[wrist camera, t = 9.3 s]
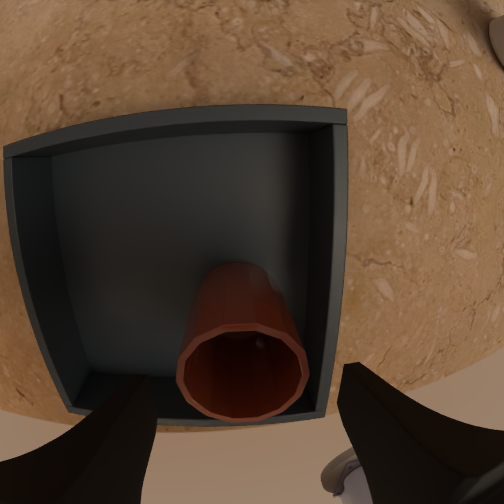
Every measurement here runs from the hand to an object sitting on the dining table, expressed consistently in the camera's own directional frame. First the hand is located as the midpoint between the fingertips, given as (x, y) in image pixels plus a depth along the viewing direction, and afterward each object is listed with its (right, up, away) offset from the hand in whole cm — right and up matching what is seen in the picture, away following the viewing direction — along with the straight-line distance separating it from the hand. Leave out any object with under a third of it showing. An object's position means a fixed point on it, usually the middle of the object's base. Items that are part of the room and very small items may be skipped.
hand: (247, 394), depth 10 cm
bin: (-4, +4, +7) cm, 9 cm away
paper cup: (-1, +2, +7) cm, 8 cm away
